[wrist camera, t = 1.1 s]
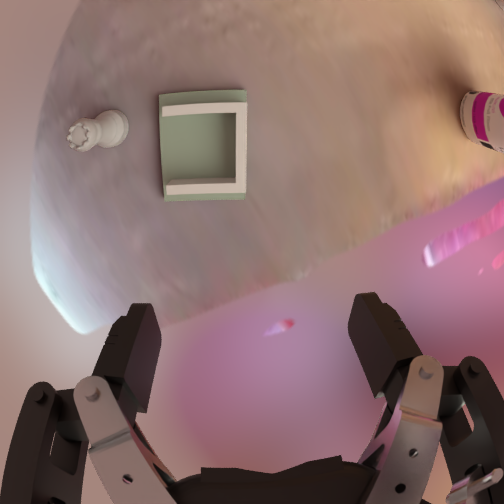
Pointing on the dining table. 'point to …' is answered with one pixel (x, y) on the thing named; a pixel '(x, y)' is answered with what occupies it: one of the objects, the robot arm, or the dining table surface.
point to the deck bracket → (203, 145)
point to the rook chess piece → (98, 131)
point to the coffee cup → (500, 3)
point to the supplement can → (484, 119)
